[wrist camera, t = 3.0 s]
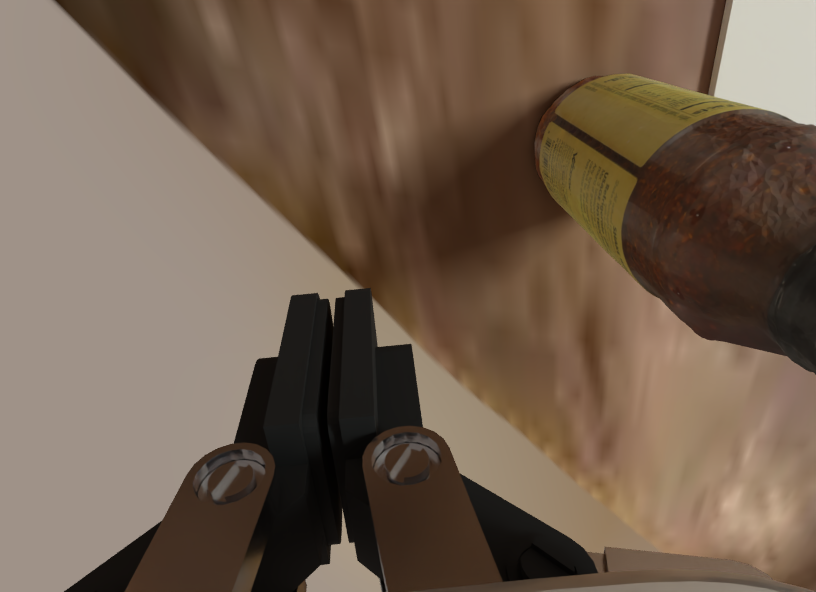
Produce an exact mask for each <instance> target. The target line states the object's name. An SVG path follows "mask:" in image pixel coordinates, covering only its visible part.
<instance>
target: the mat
mask: <svg viewBox="0 0 816 592" xmlns="http://www.w3.org/2000/svg"><path fill="white" fill-rule="evenodd" d="M708 95H710V96H714V97H718V98H721V99H725V100H729V101H733V102H737V103H741V104H745V105H749V106H753V107H757V108H761V109H765V110H769V111H772V112H775V113H778V114H780V115H783V116H785V117H787V118H789V119H791V120H793V121H794V122H796V123H801V124H805V125H809V124H813V125H815V126H816V0H726V5H725V10H724V15H723V20H722V25H721V30H720V36H719V41H718V46H717V51H716V56H715V61H714V66H713V72H712V77H711V82H710V87H709V92H708Z"/></svg>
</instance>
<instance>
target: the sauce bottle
mask: <svg viewBox="0 0 816 592" xmlns="http://www.w3.org/2000/svg"><path fill="white" fill-rule="evenodd" d="M534 144H535V163H536V169H537V173H538V176H539V177H540V179H542V181H543V182H544V184H545V185H546V188H547V190H548V191H549V193H550V195H551V196H552V197H553V198H554V200H555V201H556V202H557V203H558V204H559V205H560V206H561V207H562V208H563V209H564V210H565V211H566V212H567V213H568V214H569V215H570V216H571V217H572V218H573V219H574V220H575V221H576V222H577V223H578V224H579V225H580V226H581V227H582V228H583V229H584V230H585V231H586V232H587V233H588V234H589V235H590V236H591V237H592V238H593V239H594V240H595V241H596V242H597V243H598V244H599V245H600V246H601V247H602V248H603V249H604V250H605V251H606V252H607V253H608V254H609V255H610V256H611V257H612V258H613V259H615V260H616V261H617V262H618V263H619V264H620V265H621V266H622V267H623V268H624V269H625V270H626V271H627V272H628V273H629V274H630V275H631V276H632V277H633V278H634V279H635V280H636V281H637V282H638V283H639V284H640V285H641V286H642V287H643V288H644V289H645V290H646V291H648V292H649V293H651V294H652V295H654V296H656V297H658V298H660V299H661V300H662V301H663V302H664V303H665V305H666V306H667V307H668V308H669V309H670V310H671V311H672V312H673V313H674V314H675V315H676V316H677V317H678V318H679V319H680V320H682V321H683V322H684V323H686V324H687V325H688V326H689V327H690V328H691V329H692V330H693V331H694V332H695V333H696V334H698V335H699V336H700V337H702V338H705V339H707V340H716V341H724V342H728V343H733V344H737V345H741V346H745V347H750V348H754V349H758V350H763V351H767V352H771V353H775V354H780V355H784V356H788V357H789V358H790V359H791V360H792V361H793V362H795V363H796V364H798V365H800V366H801V367H803V368H804V369H806V370H807V371H810V372H814V373H815V374H816V126H815V125H813V124H809V125H805V124H801V123H796V122H794V121H793V120H791V119H789V118H787V117H785V116H783V115H780V114H778V113H775V112H772V111H769V110H765V109H761V108H757V107H753V106H749V105H745V104H741V103H737V102H733V101H729V100H725V99H721V98H718V97H714V96H710V95H706V94H703V93H699V92H695V91H691V90H687V89H684V88H680V87H676V86H673V85H669V84H666V83H663V82H659V81H655V80H652V79H648V78H644V77H640V76H637V75H633V74H615V75H609V76H593V77H589V78H585V79H583V80H581V81H580V82H578V83H577V84H575V85H574V86H572V87H570V88H568V89H567V90H566V91H565V92H564V93H563V94H562V95H561V96H560V97H559V98H558V99H556V100H555V101H554V103H553V104H552V106H551V107H550V108H549V109H548V110H547V111H546V113H545V114H544V115H543V116H542V118H541V121H540V123H539V126H538V129H537V132H536V137H535V141H534Z"/></svg>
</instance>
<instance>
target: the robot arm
mask: <svg viewBox="0 0 816 592" xmlns="http://www.w3.org/2000/svg"><path fill="white" fill-rule="evenodd" d="M342 508H343V513H344V518H345V523H346V529H347V534H348V539H349V543H353V542H354V543H355V548H356V554H357V559H358V561H359V562H360V563H361V564H363V565H364V566H365V567H366V568H368V569H369V570H370V571H371V572H373V573H374V574H375V575H377V576H378V577H379V578H380V585H381V591H382V592H815V591H812V590H809V589H806V588H803V587H799V586H795V585H791V584H787V583H783V582H779V581H775V580H773V579H772V578H771V577H770V576H769V575H767V574H765V573H764V572H762V571H760V570H758V569H756V568H755V567H753V566H751V565H749V564H745V563H741V562H737V561H733V560H727V559H717V558H708V557H698V556H689V555H679V554H669V553H660V552H650V551H640V550H631V549H621V548H611V547H605V549H604V554H601V553H592V552H586V551H585V550H584V548H583V547H581V546H580V545H579V544H577V543H576V542H575V541H573V540H572V539H571V538H569V537H567V536H566V535H564V534H562V533H561V532H559V531H557V530H555V529H554V528H552V527H550V526H549V525H547V524H545V523H544V522H542V521H540V520H538V519H537V518H535V517H533V516H532V515H530V514H528V513H526V512H525V511H523V510H521V509H520V508H518V507H516V506H514V505H513V504H511V503H509V502H508V501H506V500H504V499H502V498H501V497H499V496H497V495H496V494H494V493H492V492H491V491H489V490H487V489H485V488H484V487H482V486H480V485H479V484H477V483H475V482H473V481H472V480H470V479H468V478H467V477H465V476H463V475H462V474H460V473H459V471H458V468H457V466H456V463H455V461H454V458H453V456H452V453H451V451H450V448H449V447H448V445H447V443H446V442H445V440H444V439H443V438H442V437H441V436H439V435H438V434H437V433H435V432H434V431H431V430H429V429H426V428H423V425H422V418H421V411H420V404H419V396H418V388H417V381H416V374H415V367H414V359H413V352H412V346H411V344H405V345H395V346H385V347H377V338H376V329H375V321H374V312H373V303H372V294H371V288H366V289H356V290H346V291H345V297H342V298H336V302H335V315H334V327H333V321H332V315H331V309H330V303H329V300H328V299H320V298H319V295H318V293H314V294H303V295H293V296H291V300H290V304H289V309H288V314H287V319H286V323H285V327H284V332H283V337H282V342H281V346H280V351H279V355H278V357H271V358H262V359H258V360H257V361H256V364H255V367H254V371H253V375H252V378H251V382H250V385H249V389H248V393H247V397H246V400H245V404H244V408H243V411H242V415H241V419H240V422H239V427H238V430H237V433H236V437H235V441H234V444H230V445H226V446H223V447H220V448H218V449H215V450H214V451H212V452H210V453H208V454H207V455H205V456H204V457H202V458H201V459H200V460H199V461H198V462H197V463H195V464H194V466H193V467H192V468H191V470H190V471H189V472H188V474H187V476H186V477H185V479H184V481H183V483H182V485H181V487H180V489H179V491H178V492H177V494H176V496H175V498H174V500H173V502H172V503H171V505H170V507H169V509H168V511H167V513H166V515H165V517H164V519H163V520H162V521H161V522H160V523H158V524H157V525H155V526H154V527H153V528H151V529H150V530H148V531H147V532H146V533H144V534H143V535H142V536H140V537H139V538H138V539H136V540H135V541H133V542H132V543H131V544H129V545H128V546H127V547H125V548H124V549H122V550H121V551H119V552H118V553H117V554H115V555H114V556H113V557H111V558H110V559H108V560H107V561H106V562H105V563H103V564H102V565H100V566H99V567H97V568H96V569H95V570H93V571H92V572H91V573H89V574H88V575H86V576H85V577H84V578H82V579H81V580H80V581H78V582H77V583H76V584H74V585H73V586H71V587H70V588H69V589H67V590H66V591H64V592H306V588H307V584H306V580H305V579H306V578H307V577H308V576H309V575H310V574H312V573H313V572H314V571H315V570H316V569H317V568H318V567H319V566H320V565H324V564H330V550H331V545H333V544H340V543H341V533H342Z"/></svg>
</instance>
